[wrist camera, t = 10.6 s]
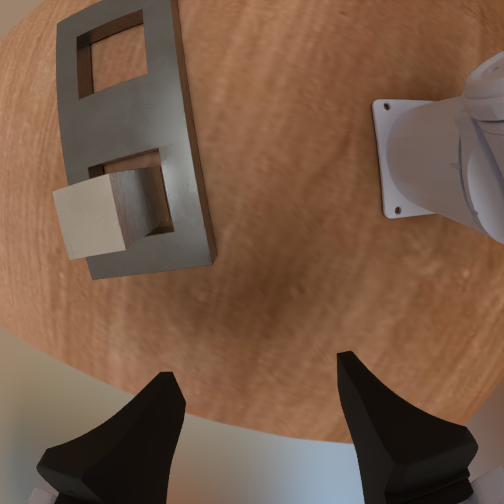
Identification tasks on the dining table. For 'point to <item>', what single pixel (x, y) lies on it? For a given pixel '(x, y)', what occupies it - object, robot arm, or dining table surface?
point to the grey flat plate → (135, 130)
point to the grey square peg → (110, 211)
